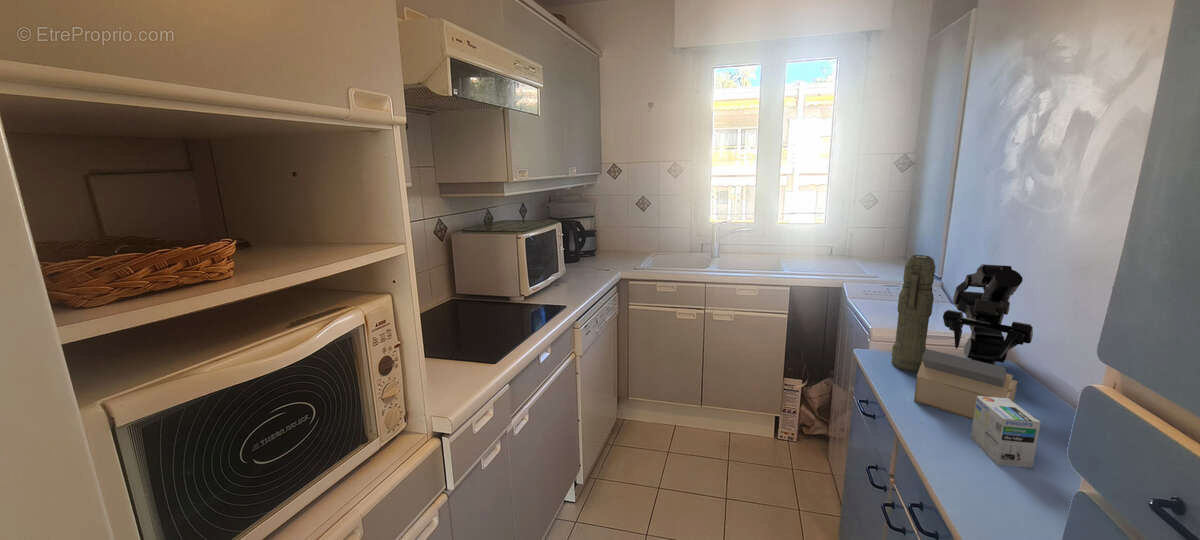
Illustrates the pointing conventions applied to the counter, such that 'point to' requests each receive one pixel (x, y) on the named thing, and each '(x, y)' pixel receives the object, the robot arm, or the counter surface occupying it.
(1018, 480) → the counter surface
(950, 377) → the grey stone
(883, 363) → the counter surface
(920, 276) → the thermos
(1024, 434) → the light bulb box
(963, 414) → the carton
